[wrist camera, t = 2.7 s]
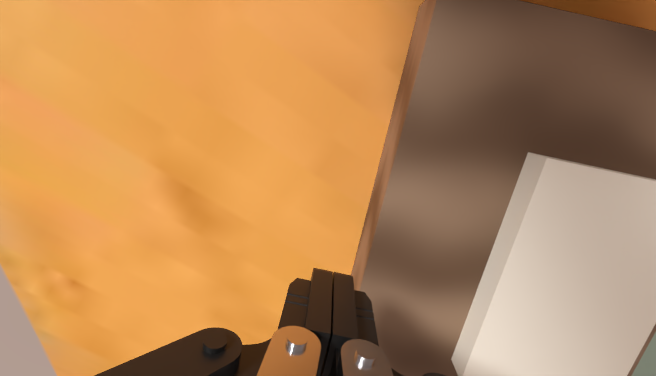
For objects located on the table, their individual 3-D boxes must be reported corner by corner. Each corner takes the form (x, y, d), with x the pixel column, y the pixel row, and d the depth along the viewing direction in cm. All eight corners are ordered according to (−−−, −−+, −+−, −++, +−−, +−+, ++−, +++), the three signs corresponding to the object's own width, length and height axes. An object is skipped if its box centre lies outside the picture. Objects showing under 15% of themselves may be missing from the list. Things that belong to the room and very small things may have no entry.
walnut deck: (419, 6, 18) (441, -18, 14) (706, 71, 18) (803, 64, 15) (327, 369, 24) (325, 420, 21) (542, 411, 25) (579, 469, 21)
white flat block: (527, 152, 16) (546, 157, 14) (690, 187, 16) (725, 196, 15) (451, 359, 19) (460, 381, 18) (588, 386, 19) (608, 410, 18)
